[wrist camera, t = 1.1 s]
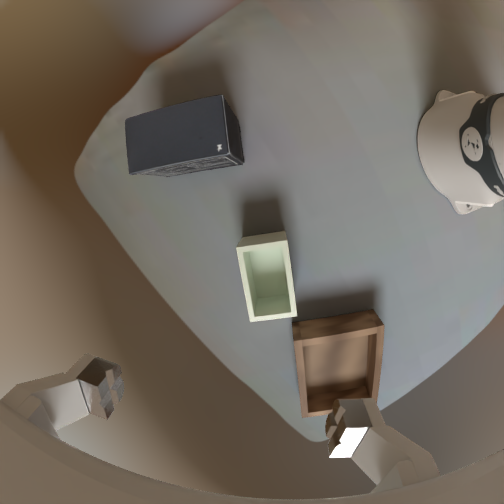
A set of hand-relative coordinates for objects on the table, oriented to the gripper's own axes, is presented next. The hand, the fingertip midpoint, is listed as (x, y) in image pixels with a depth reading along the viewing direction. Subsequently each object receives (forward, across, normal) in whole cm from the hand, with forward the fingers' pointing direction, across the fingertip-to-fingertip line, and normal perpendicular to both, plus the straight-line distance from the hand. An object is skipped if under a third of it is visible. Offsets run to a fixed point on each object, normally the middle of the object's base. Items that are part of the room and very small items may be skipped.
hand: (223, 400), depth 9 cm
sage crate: (+28, -2, +3) cm, 28 cm away
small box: (+28, +9, -12) cm, 32 cm away
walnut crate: (+28, -14, +16) cm, 35 cm away
